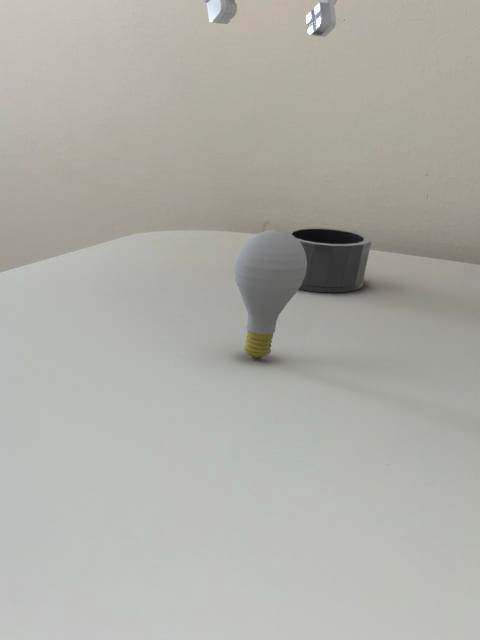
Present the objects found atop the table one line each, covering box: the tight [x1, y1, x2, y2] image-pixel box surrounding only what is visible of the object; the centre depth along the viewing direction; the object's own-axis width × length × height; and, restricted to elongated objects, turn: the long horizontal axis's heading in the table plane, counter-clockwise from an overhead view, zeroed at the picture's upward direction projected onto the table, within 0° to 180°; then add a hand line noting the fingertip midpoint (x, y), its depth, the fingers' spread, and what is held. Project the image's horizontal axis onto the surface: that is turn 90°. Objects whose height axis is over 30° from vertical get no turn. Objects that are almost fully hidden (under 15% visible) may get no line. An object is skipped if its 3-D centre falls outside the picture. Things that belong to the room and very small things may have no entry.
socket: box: [284, 226, 373, 294], centre depth 102 cm, size 9×9×4 cm
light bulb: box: [234, 229, 307, 360], centre depth 79 cm, size 6×6×10 cm
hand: (273, 25), depth 79 cm, fingers open, 8 cm apart
